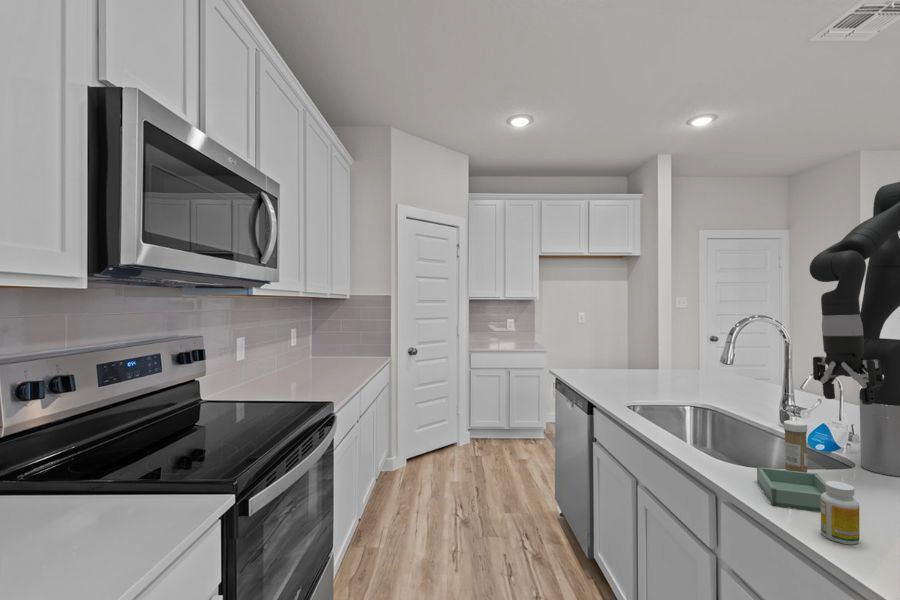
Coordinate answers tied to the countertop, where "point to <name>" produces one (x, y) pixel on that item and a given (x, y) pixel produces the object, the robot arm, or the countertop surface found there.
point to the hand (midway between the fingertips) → (848, 401)
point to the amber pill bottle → (795, 446)
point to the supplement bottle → (840, 513)
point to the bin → (792, 488)
